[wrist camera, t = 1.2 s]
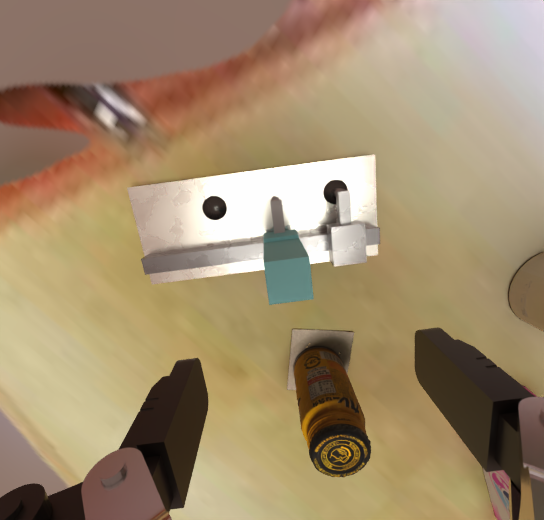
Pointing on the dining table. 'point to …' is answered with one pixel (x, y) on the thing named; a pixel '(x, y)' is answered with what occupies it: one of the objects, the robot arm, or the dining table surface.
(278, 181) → the hole plate
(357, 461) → the condiment
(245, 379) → the dining table surface
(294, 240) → the leg
